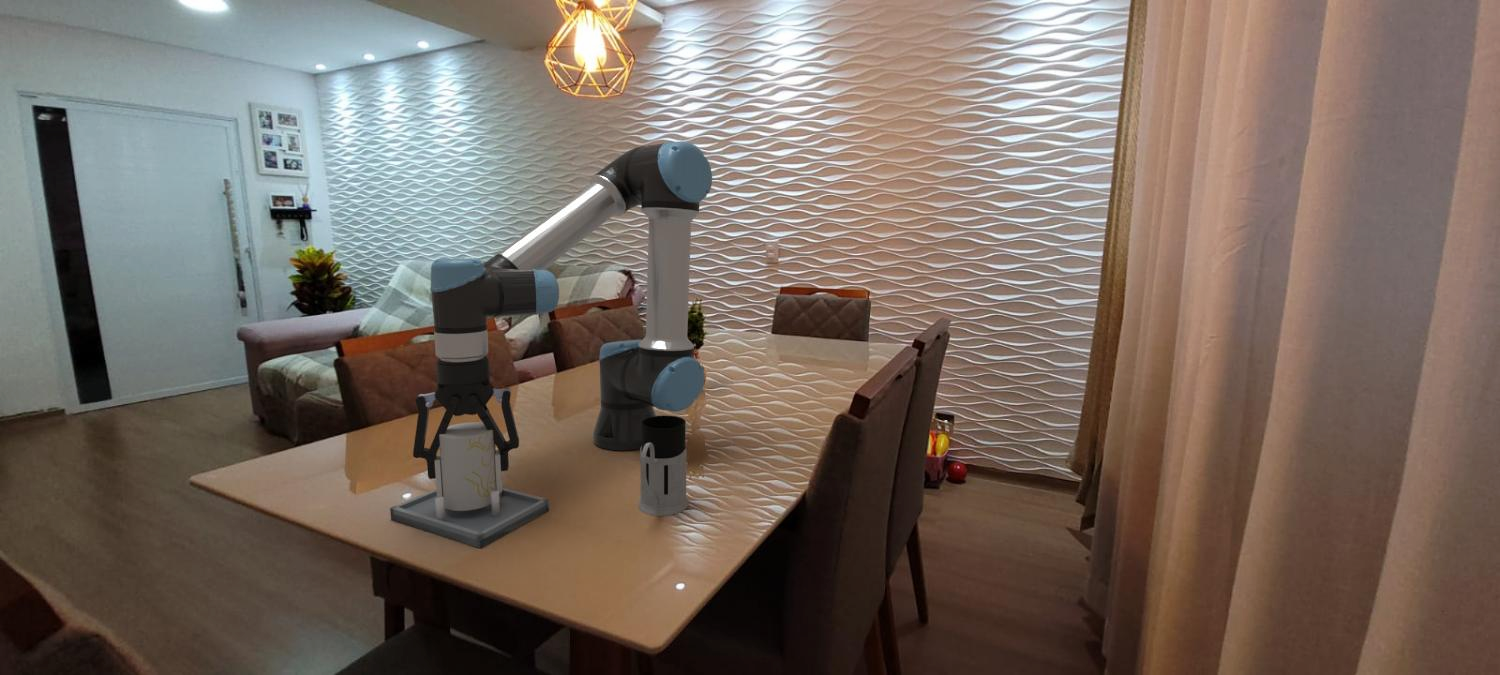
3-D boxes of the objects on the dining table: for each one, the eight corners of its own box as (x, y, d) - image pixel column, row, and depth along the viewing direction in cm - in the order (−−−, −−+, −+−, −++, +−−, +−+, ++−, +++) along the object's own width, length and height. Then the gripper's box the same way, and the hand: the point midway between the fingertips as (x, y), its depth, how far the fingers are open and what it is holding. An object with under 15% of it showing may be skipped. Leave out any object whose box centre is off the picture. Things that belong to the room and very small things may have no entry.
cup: (477, 513, 92) (472, 440, 90) (431, 507, 94) (426, 435, 92) (508, 492, 100) (504, 424, 98) (465, 487, 102) (461, 420, 100)
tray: (548, 510, 100) (547, 481, 99) (480, 548, 87) (478, 515, 86) (464, 487, 108) (463, 460, 107) (390, 519, 95) (388, 489, 94)
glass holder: (694, 496, 106) (695, 416, 104) (669, 534, 92) (669, 442, 90) (648, 491, 108) (648, 412, 105) (617, 528, 94) (616, 438, 92)
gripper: (532, 349, 100) (537, 476, 104) (392, 355, 93) (402, 491, 97) (533, 358, 93) (538, 493, 97) (381, 365, 86) (393, 511, 90)
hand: (470, 492), depth 97 cm, fingers closed on cup, 8 cm apart
